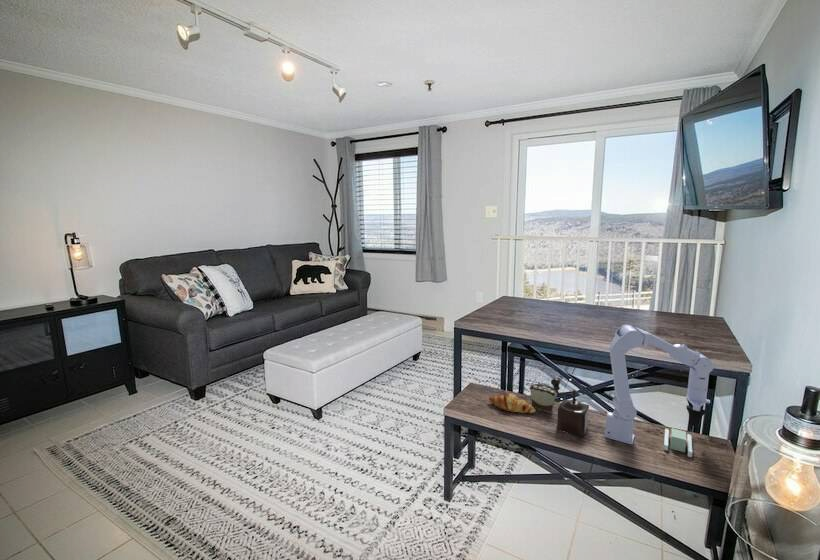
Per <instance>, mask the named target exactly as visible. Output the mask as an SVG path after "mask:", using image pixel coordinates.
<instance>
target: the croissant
mask: <svg viewBox="0 0 820 560" xmlns="http://www.w3.org/2000/svg"><path fill="white" fill-rule="evenodd" d="M488 400H489V402H490V403H492V404H493V405H494V406H495V407H496V406H497V408H498V407H499V408H498V409H500V410H502V409H503V411H505V410H507V411H506V412H509V411H510V412H509V413H514V412H518V413H520V414H526V413H527V414H534V413H536V408H534V407H533V406H531V403H528V402H527V401H526V400H525V399H524V398H519V397H518V396H517V395H515V394H514V393H511V392H507V393H505V394H504V395H503V394H501V395H500V394H499V396H497V395H493V396H489V397H488Z"/></svg>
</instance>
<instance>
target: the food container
mask: <svg viewBox="0 0 820 560" xmlns="http://www.w3.org/2000/svg"><path fill="white" fill-rule="evenodd" d="M553 388H554V386H553V385H552V386H551V385H548V384H544V383H533V384H530V386H529V389H528V390H530V402H531V403H530V404H531V406H533V408H534V407H535V408H534V409H537V410H541V411H543V410H544V412H546V411H547V412H546V413H549V412H550V413H549V414H553V412H554V405H555V399H556V398H557V396H558V394H557V393H556V390H554V389H553Z"/></svg>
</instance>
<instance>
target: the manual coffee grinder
mask: <svg viewBox="0 0 820 560" xmlns="http://www.w3.org/2000/svg"><path fill="white" fill-rule="evenodd" d="M550 384H551V385H552V387H553V389H554V390H556V393H557V395H560V396H567V397H568V396H569V397H570V396H572V399H571V400H569V399H563V400H562V401H561V402H560V404H559V406H558V407H557V421H556V423H557V424H556V430H557V429H558V430H557V431H559V430H561V431H560V432H562V431H565V432H564V433H566V432H568V433H567V434H569V433H570V435H573V434H574V436H578V437H582V438H583V437H584V436H585V434H587V433H586V432H587V430H588V428H589V427H588V425H589V424H588V423H589V408H590V405H589V404H586V403H583V402H580V401H577V398H576V396H577V393H576V392H577V390H576V389H573V390H572V393H568V392H567V393H565V392H564V393H563V392H559V390H561V387H560V385H561V380H560V379H559V378H552V379H551V381H550Z"/></svg>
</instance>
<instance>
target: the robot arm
mask: <svg viewBox="0 0 820 560" xmlns="http://www.w3.org/2000/svg"><path fill="white" fill-rule="evenodd" d="M614 333H615V334H614V336H613V339H612V341H611V343H610V345H609V349H608V350H609V356H610V363H611V364H610V365H611V373H612V379H613V385H614V386H613V388H614V391H613V398H612V406H613V407H614V409H613V412H611V411H607V414H606V420H605V427H604V430H605V431H604V432H605V433H604V438H606V439H611V440H613V441H617V442H620V443H621V442H622V443H625V444H629V445H633V444H634V438H635V434H634V426H635V425H634V423H635V418H636V416H637V413H638V412H637V408H636V407H635V406H634V403H633V399H632V396H631V391H630V385H629V384H630V383H629V377H628V369H627V362H626V354H627V352H629V351H631V350H633V349H636V348H638V347H640V346H647V345H651V346H654V347H656V348H658V349H660V350H662V351H665V352H666V353H668V354H669V357H670V358H671V359H674V360H675V361H676V362H679V363H681V364H683V365H686V366H687V367H689V372H688V373H689V374H688V381H687V382H688V385H687V392H686V396H685V399H686V401H687V404H688V405H687V404H686V410H687V412H688V415H689V416H688V417H689V424H690V426H692V427H696V428H698V427H699V425H700V423H701V420H702V419H703V416H704V415H706V412H707V411H706V409H702V407H703V406H704V405H705V404H710V403H711V400H710V399H707V394H708V389H709V388H708V386H709V379H710V378H709V377H710V373H711V372H713V370H714V368H715V366H714V365H713V362H712V360H711V359H710V358H708V357H707V356H705V355H704V354H702V353H701V352H700V351H698V350H696V351H694V350H693V349H690V348H688V345H686V344H684V343H682V344H680V343H675V344H672V343H670V342H668V341H666V340H664V339H662V338H660V337H658V336H656V335H654V334H653V333H650V331H649V332H648V331H646V330H644V329H641V328H639V327H634V326H633V325H631V324H623V325H621V326H620V327H619V328H617V329H616V330H615V332H614Z"/></svg>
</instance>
